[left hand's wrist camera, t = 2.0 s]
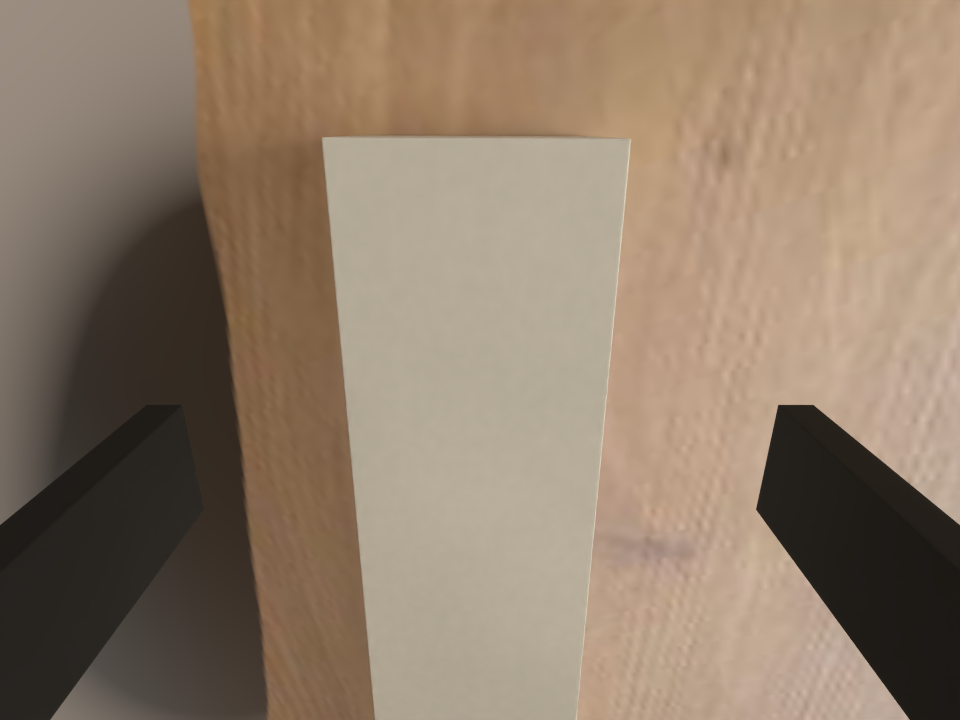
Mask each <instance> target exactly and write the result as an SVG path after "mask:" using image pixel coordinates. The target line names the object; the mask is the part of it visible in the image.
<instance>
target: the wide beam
mask: <svg viewBox="0 0 960 720" xmlns="http://www.w3.org/2000/svg"><path fill="white" fill-rule="evenodd" d="M630 144H631V139H629V138H610V137H589V136H389V135H368V136H341V137H323V138H322V148H323V159H324V170H325V181H326V192H327V203H328V214H329V225H330V236H331V247H332V258H333V269H334V280H335V291H336V302H337V313H338V323H339V334H340V345H341V356H342V367H343V378H344V389H345V400H346V411H347V422H348V433H349V444H350V455H351V466H352V477H353V488H354V499H355V510H356V521H357V531H358V542H359V553H360V564H361V575H362V586H363V597H364V608H365V619H366V630H367V641H368V652H369V663H370V674H371V685H372V696H373V707H374V718H375V720H576V718H577V707H578V697H579V686H580V675H581V665H582V654H583V643H584V633H585V622H586V612H587V601H588V590H589V580H590V569H591V558H592V548H593V537H594V527H595V516H596V505H597V495H598V484H599V473H600V463H601V452H602V442H603V431H604V420H605V410H606V399H607V388H608V378H609V367H610V357H611V346H612V335H613V325H614V314H615V303H616V293H617V282H618V272H619V261H620V250H621V240H622V229H623V218H624V208H625V197H626V187H627V176H628V165H629V155H630Z"/></svg>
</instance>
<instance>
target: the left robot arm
mask: <svg viewBox="0 0 960 720" xmlns="http://www.w3.org/2000/svg"><path fill="white" fill-rule="evenodd" d="M203 510H204V508H203V503H202V499H201V494H200V489H199V485H198V480H197V475H196V471H195V466H194V461H193V456H192V452H191V447H190V442H189V438H188V433H187V428H186V423H185V419H184V414H183V409H182V405H146V406H145V407H144V408H143V409H141V410H140V411H139V412H138V413H137V414H135V415H134V416H133V417H132V418H130V419H129V420H128V421H127V422H126V423H124V424H123V425H122V426H121V427H119V428H118V429H117V430H116V431H115V432H113V433H112V434H111V435H110V436H108V437H107V438H106V439H105V440H104V441H102V442H101V443H100V444H99V445H97V446H96V447H95V448H94V449H93V450H91V451H90V452H89V453H88V454H86V455H85V456H84V457H83V458H82V459H80V460H79V461H78V462H77V463H75V464H74V465H73V466H72V467H71V468H69V469H68V470H67V471H66V472H65V473H63V474H62V475H61V476H60V477H58V478H57V479H56V480H55V481H54V482H52V483H51V484H50V485H49V486H47V487H46V488H45V489H44V490H43V491H41V492H40V493H39V494H38V495H36V496H35V497H34V498H33V499H32V500H30V501H29V502H28V503H27V504H26V505H24V506H23V507H22V508H21V509H19V510H18V511H17V512H16V513H15V514H13V515H12V516H11V517H10V518H8V519H7V520H6V521H5V522H4V523H2V524H1V525H0V720H50V719H51V718H52V716H53V715H54V714H55V712H56V711H57V710H58V708H59V707H60V705H61V704H62V703H63V701H64V700H65V699H66V697H67V696H68V695H69V693H70V692H71V690H72V689H73V688H74V686H75V685H76V684H77V682H78V681H79V679H80V678H81V677H82V675H83V674H84V673H85V671H86V670H87V669H88V667H89V666H90V665H91V663H92V662H93V660H94V659H95V658H96V656H97V655H98V654H99V652H100V651H101V649H102V648H103V647H104V645H105V644H106V643H107V641H108V640H109V639H110V637H111V636H112V634H113V633H114V632H115V630H116V629H117V628H118V626H119V625H120V623H121V622H122V621H123V619H124V618H125V617H126V615H127V614H128V613H129V611H130V610H131V608H132V607H133V606H134V604H135V603H136V602H137V600H138V599H139V597H140V596H141V595H142V593H143V592H144V591H145V589H146V588H147V586H148V585H149V584H150V582H151V581H152V580H153V578H154V577H155V576H156V574H157V573H158V572H159V570H160V569H161V567H162V566H163V565H164V563H165V562H166V561H167V559H168V558H169V556H170V555H171V554H172V552H173V551H174V550H175V548H176V547H177V545H178V544H179V543H180V541H181V540H182V539H183V537H184V536H185V535H186V533H187V532H188V530H189V529H190V528H191V526H192V525H193V524H194V522H195V521H196V519H197V518H198V517H199V515H200V514H201V513H202V511H203ZM756 510H757V511H758V513H759V514H760V515H761V517H762V518H763V520H764V521H765V522H766V524H767V525H768V526H769V528H770V529H771V530H772V532H773V533H774V535H775V536H776V537H777V539H778V540H779V541H780V543H781V544H782V546H783V547H784V548H785V550H786V551H787V552H788V554H789V555H790V556H791V558H792V559H793V561H794V562H795V563H796V565H797V566H798V567H799V569H800V570H801V572H802V573H803V574H804V576H805V577H806V578H807V580H808V581H809V582H810V584H811V585H812V587H813V588H814V589H815V591H816V592H817V593H818V595H819V596H820V597H821V599H822V600H823V602H824V603H825V604H826V606H827V607H828V608H829V610H830V611H831V613H832V614H833V615H834V617H835V618H836V619H837V621H838V622H839V623H840V625H841V626H842V628H843V629H844V630H845V632H846V633H847V634H848V636H849V637H850V639H851V640H852V641H853V643H854V644H855V645H856V647H857V648H858V649H859V651H860V652H861V654H862V655H863V656H864V658H865V659H866V660H867V662H868V663H869V665H870V666H871V667H872V669H873V670H874V671H875V673H876V674H877V675H878V677H879V678H880V680H881V681H882V682H883V684H884V685H885V686H886V688H887V689H888V691H889V692H890V693H891V695H892V696H893V697H894V699H895V700H896V701H897V703H898V704H899V706H900V707H901V708H902V710H903V711H904V712H905V714H906V715H907V716H908V718H909V719H910V720H960V525H959V524H958V523H956V522H955V521H954V520H953V519H952V518H950V517H949V516H948V515H947V514H945V513H944V512H943V511H942V510H941V509H939V508H938V507H937V506H936V505H935V504H933V503H932V502H931V501H930V500H928V499H927V498H926V497H925V496H924V495H922V494H921V493H920V492H919V491H917V490H916V489H915V488H914V487H913V486H911V485H910V484H909V483H908V482H906V481H905V480H904V479H903V478H902V477H900V476H899V475H898V474H897V473H895V472H894V471H893V470H892V469H891V468H889V467H888V466H887V465H886V464H885V463H883V462H882V461H881V460H880V459H878V458H877V457H876V456H875V455H874V454H872V453H871V452H870V451H869V450H867V449H866V448H865V447H864V446H863V445H861V444H860V443H859V442H858V441H856V440H855V439H854V438H853V437H852V436H850V435H849V434H848V433H847V432H845V431H844V430H843V429H842V428H841V427H839V426H838V425H837V424H836V423H835V422H833V421H832V420H831V419H830V418H828V417H827V416H826V415H825V414H824V413H822V412H821V411H820V410H819V409H817V408H816V407H815V406H814V405H778V409H777V414H776V419H775V423H774V428H773V433H772V438H771V442H770V447H769V452H768V456H767V461H766V466H765V471H764V475H763V480H762V485H761V489H760V494H759V499H758V503H757V508H756Z"/></svg>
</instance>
